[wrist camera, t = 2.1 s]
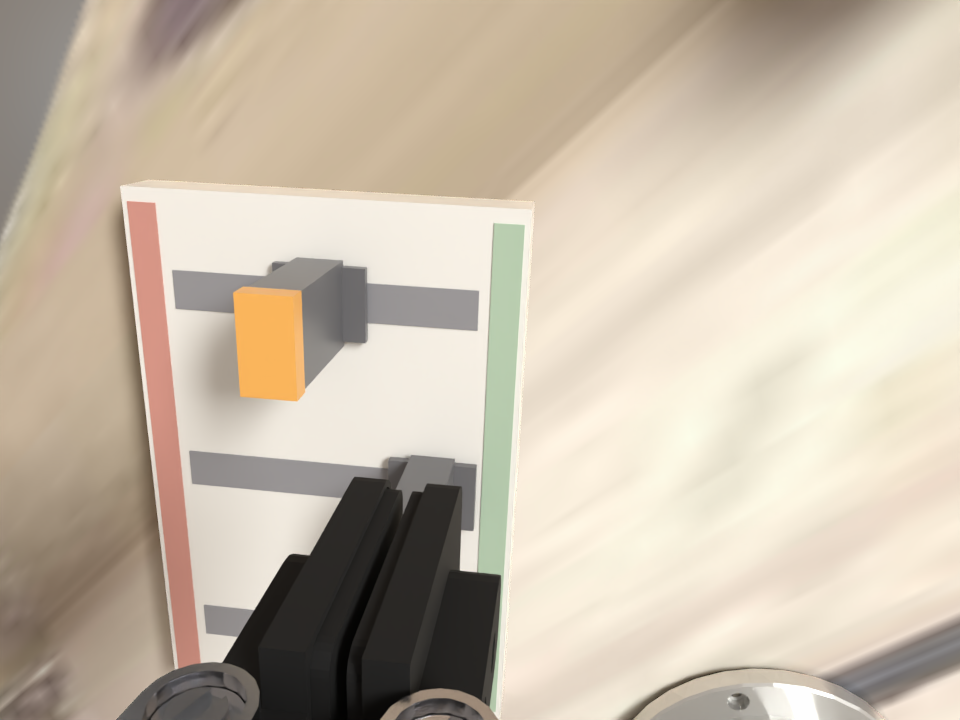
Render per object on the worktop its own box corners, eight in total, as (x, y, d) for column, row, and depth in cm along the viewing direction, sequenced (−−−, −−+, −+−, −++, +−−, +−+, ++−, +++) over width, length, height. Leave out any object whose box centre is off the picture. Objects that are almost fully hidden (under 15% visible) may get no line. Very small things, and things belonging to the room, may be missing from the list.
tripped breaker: (366, 259, 26) (319, 298, 21) (367, 347, 27) (322, 403, 22) (274, 253, 26) (207, 290, 21) (278, 340, 27) (215, 394, 22)
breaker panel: (534, 201, 27) (532, 209, 25) (503, 686, 34) (499, 721, 32) (150, 179, 28) (119, 185, 26) (197, 650, 35) (175, 683, 33)
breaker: (477, 459, 28) (457, 536, 23) (474, 531, 29) (454, 619, 24) (390, 451, 28) (352, 525, 23) (389, 523, 29) (353, 608, 24)
